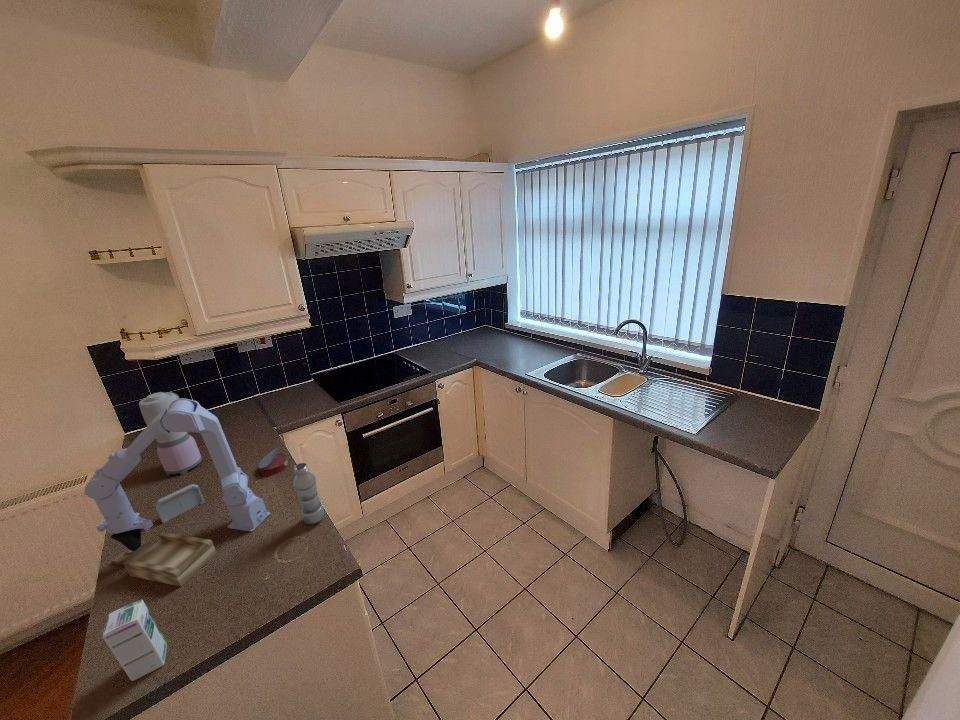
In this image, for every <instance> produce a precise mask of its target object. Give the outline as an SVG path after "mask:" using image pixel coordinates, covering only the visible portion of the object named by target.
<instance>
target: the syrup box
mask: <svg viewBox="0 0 960 720" xmlns="http://www.w3.org/2000/svg"><path fill="white" fill-rule="evenodd" d="M102 639H103V640H104V642H105V643H106V645H107V646H108V648H109V649H110V651H111V653H112V655H114V658H116V660H117V662H118V663H119V664H120V666H121V667H122V670H123V671H124V672H125V674H126V675H127V677H128V678H129V679H130V681H131V682H133V681H136V680H138V679H141V678H142V677H144V676H146V675H148V674H150V673H152V672H153V671H156V670H157V669H159V668H161V667H163V666H165V662H166V661H165V660H166V657H167V647H168V642H167V640H166V638H165V637H164V635H163V633H162V631H161V629H160V627H159V625H158V624H157V623H156V620H155V619H154V617H153V616H152V613H151V612H150V610H149V608H148V607H147V605H146V603H145V602H144V600H143V599H139V600H136V601H135V602H134V601H133V602H131V603H129V604H126V605H124V606H122V607H121V608H119V609H116V610H114V611H112V612H110V613H108V617H107V621H106V623H105V626H104V629H103V633H102Z"/></svg>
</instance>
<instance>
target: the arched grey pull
mask: <svg viewBox="0 0 960 720" xmlns="http://www.w3.org/2000/svg"><path fill="white" fill-rule="evenodd" d="M200 488H201V487H200V486H199V485H198V484H194V483H190V484H189V485H187V486H185V487H182V488H181V489H179V490H176V491H172V493H170V494H168V495H166V496H164V497H161V498H159V499H157V501H156V502H155V504H154V508H155V510H156V512H157V514H158V516H159V519H160V520H161V521H160V522H161V523H162V524H166V523H167V522H169V520H171V519H173V518H175V517H177V516H179V515H181V514H183V513H185V512H186V511H189V510H191V509H193V508H195V507H196V506H198V505H203V504H204V503H205V502H206V501H205V498H204V496H203V493H202V491H201V489H200Z"/></svg>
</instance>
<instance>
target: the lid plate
mask: <svg viewBox="0 0 960 720" xmlns="http://www.w3.org/2000/svg"><path fill="white" fill-rule="evenodd" d="M155 544H157V543H154V542H151V541H149V542H148V541H143V540H141V546H140V547H139V548H138V549H137V550H136V551H130V550H129V549H128V548H126V549H124V551H123V552H121V553H119V554H118V555H117V556H115V558H113V559H112V560H111V562H112V564H114V563H115V565H120V566H125V565H124V562H125V561H127V560H128V559H129V560H134V561H135V560H137V559H138V558H139V557H140V556H142V555H143V554H144V553H145V552H147V551H148V550H149V549H150V548H152V547H153V546H154V545H155Z"/></svg>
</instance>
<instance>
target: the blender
mask: <svg viewBox="0 0 960 720" xmlns="http://www.w3.org/2000/svg"><path fill="white" fill-rule="evenodd" d="M177 399H181V398H180V396H179V394H177V393H175V392H172V391H169V392H168V391H166V392H163V391H159V392H154V393H152V394H149V395H148V396H146V397H145V398H143V399H142V400H140V401H139V403H138V407H139V409H140V412H141V416H142V417H143V418H142V419H143V420H144V422H145V424H146V427H147V426H148V425H149V423H150V422H151V421H152V420H153V419H154V418H155V417H156V416H157V415H158V414H159V413H160V412H162V411H163V410H164V409H165V408H166V407H167V411H168V409H169V406H170V404H171V403H172V402H173V401H175V400H177ZM155 440H156V442H157V447H156V448H157V449H156V453H157V455H158V458H159V461H160V462H161V465H162V467H163V470H164V473H165V474H166V476H168V477H170V476H171V475H176V474H180V475H181V476H185V475H186V474H188V473H189V472H188V471H189V470H191V469H193V468H195V467H196V466H198V465H199V464H200V463H201V462H203V458H202V457H203V456H202V455H201V453H200V449H199V448H198V445H197V442H196V439H195V438H194V437H193V436H192V435H191V434H189V432H172V431H170V433H169V434H162V435H159V436H158V437H157V438H156V439H155Z"/></svg>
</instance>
